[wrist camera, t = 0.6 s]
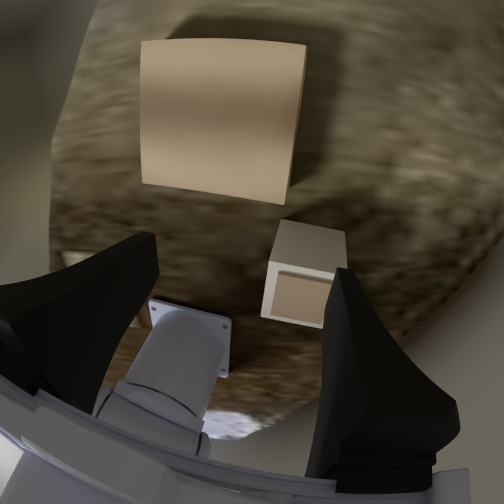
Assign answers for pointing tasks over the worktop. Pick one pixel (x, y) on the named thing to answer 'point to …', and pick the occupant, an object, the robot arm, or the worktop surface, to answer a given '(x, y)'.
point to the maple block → (221, 115)
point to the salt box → (302, 272)
